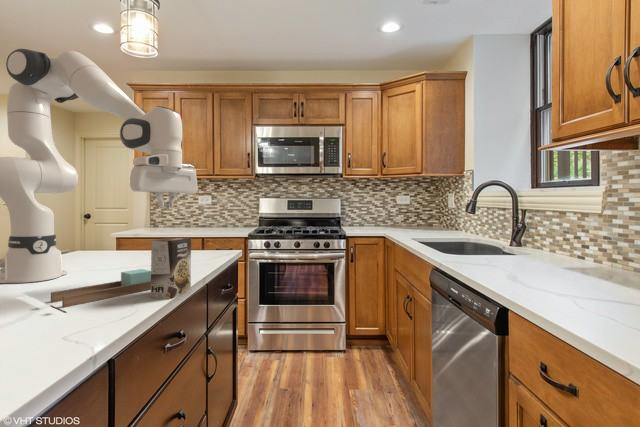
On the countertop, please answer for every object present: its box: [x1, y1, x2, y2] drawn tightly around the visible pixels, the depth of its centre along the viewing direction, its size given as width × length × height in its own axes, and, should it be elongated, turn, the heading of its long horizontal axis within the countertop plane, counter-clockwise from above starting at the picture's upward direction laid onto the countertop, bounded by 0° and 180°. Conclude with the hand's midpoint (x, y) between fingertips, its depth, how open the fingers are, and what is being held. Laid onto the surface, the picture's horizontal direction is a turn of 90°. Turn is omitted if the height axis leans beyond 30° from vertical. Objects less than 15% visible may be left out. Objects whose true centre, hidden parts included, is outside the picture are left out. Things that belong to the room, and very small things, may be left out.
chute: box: [50, 280, 151, 314], centre depth 93 cm, size 8×24×4 cm, turn 146°
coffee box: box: [150, 237, 192, 300], centre depth 95 cm, size 9×6×16 cm
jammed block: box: [120, 268, 151, 286], centre depth 99 cm, size 5×6×5 cm
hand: (166, 208), depth 106 cm, fingers closed
